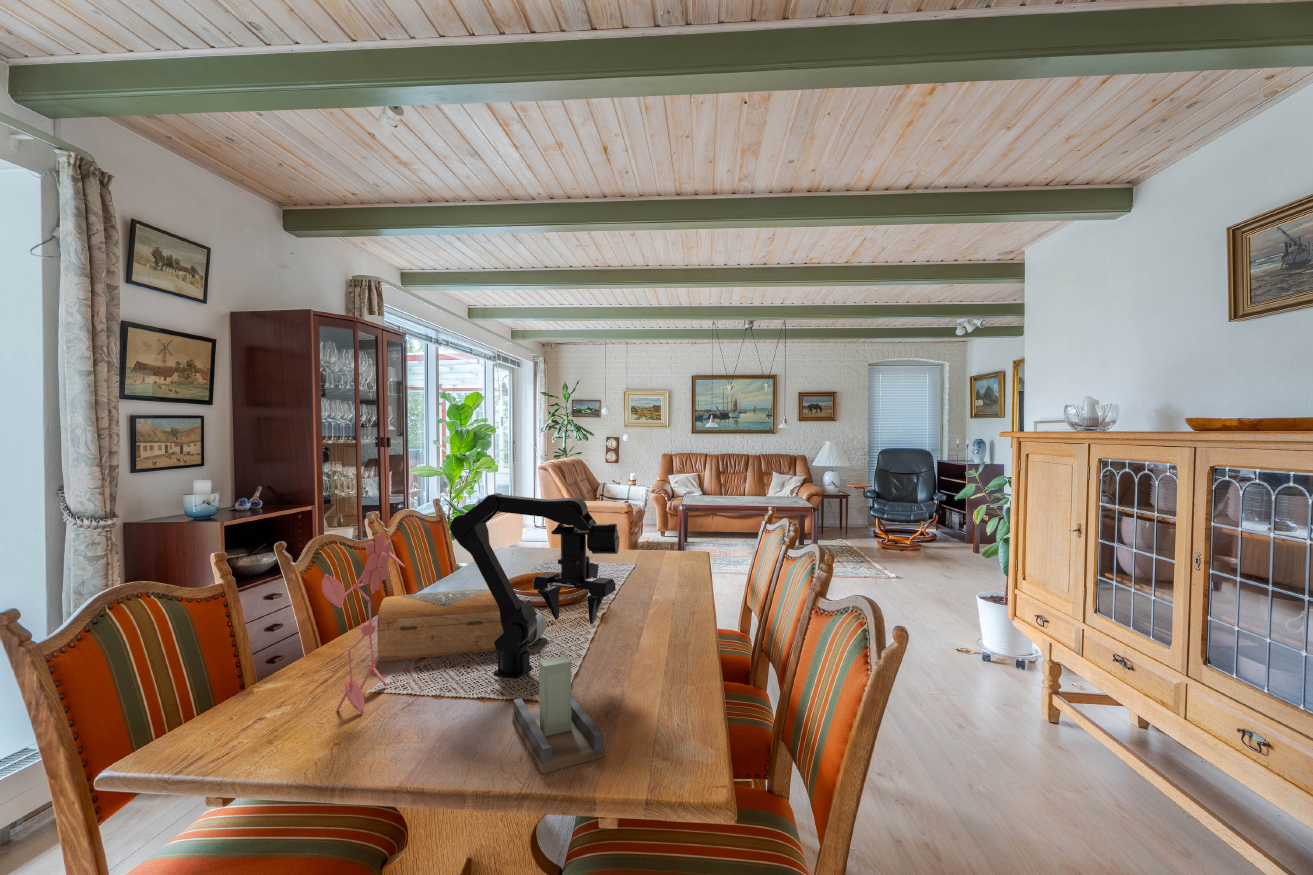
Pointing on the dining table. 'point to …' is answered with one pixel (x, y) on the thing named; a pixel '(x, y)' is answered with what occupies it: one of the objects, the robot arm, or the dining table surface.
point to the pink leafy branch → (374, 574)
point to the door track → (559, 738)
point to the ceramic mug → (537, 629)
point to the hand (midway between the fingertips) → (574, 621)
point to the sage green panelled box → (555, 695)
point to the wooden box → (437, 624)
